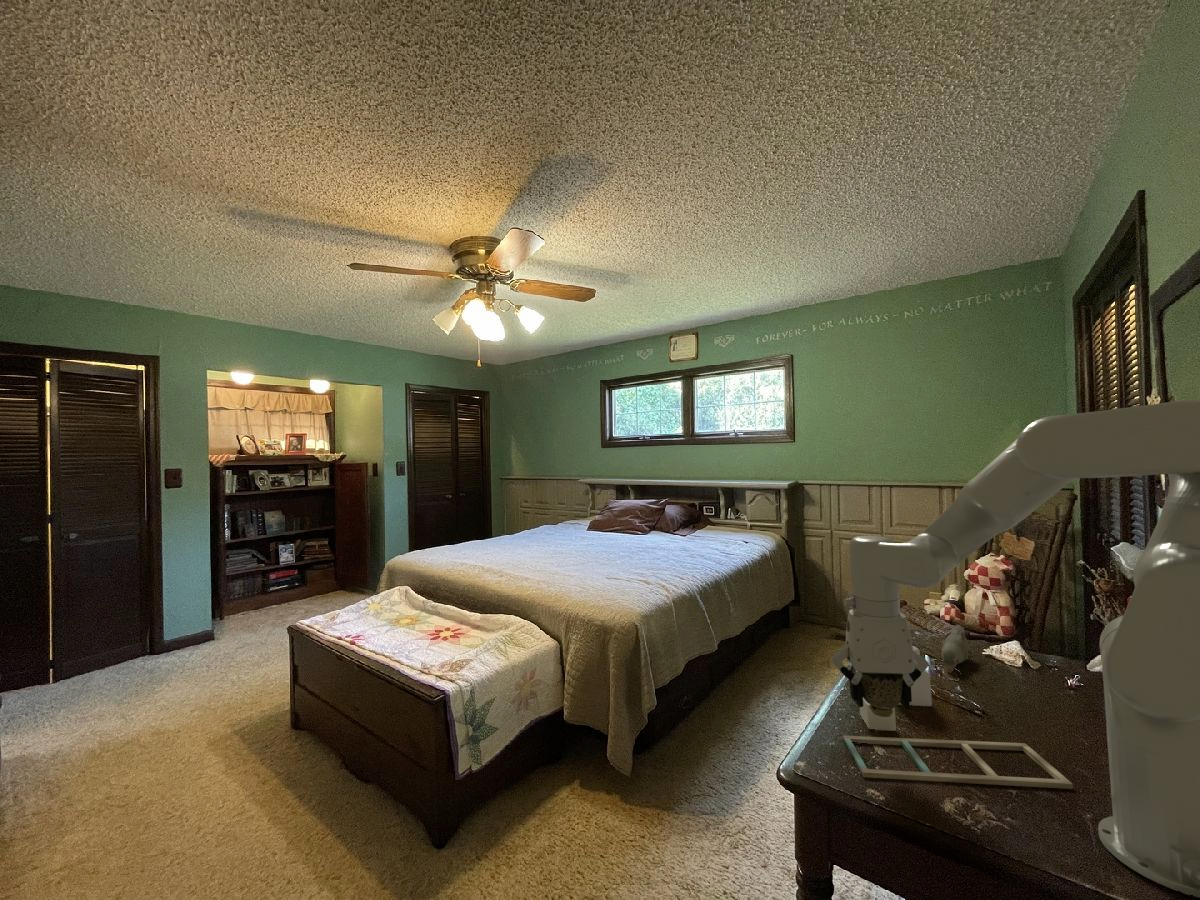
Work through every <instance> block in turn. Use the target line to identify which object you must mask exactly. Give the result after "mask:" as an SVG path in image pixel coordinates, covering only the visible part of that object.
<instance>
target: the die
mask: <svg viewBox="0 0 1200 900" xmlns="http://www.w3.org/2000/svg"><path fill="white" fill-rule="evenodd" d="M869 706H870V704H869V703H867V702H866V701H865V699H864V698H863V706H862V707H859V716H860V715H861V717H862V718H861V717H860V718H861V720H862V719H863V720H864V722H865V723H866V725H867V726H866V725H865V726H866V728H867V727H868V728H869V729H875V730H874V731H888V732H889V731H890V732H891V731H892V732H893V731H894V732H895V731H897V723H896V722H897V720H896V707H895V708H892V709H893V714H892V715H891V716H890V717H880V716H877V715H875V714H873V713H872V712H871V710H870V707H869ZM863 720H862V721H863ZM864 722H863V723H864ZM865 723H864V724H865ZM868 728H867V729H868ZM869 729H868V730H869Z"/></svg>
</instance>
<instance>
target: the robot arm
mask: <svg viewBox="0 0 1200 900" xmlns="http://www.w3.org/2000/svg"><path fill="white" fill-rule="evenodd" d="M1154 475H1155V476H1156V475H1167V477H1168V481H1169V482H1168V483H1169V487H1168V493H1167V497H1166V499H1165V501H1164V504H1163V506H1162V509H1161V512H1160V516H1159V518H1158V521H1157V523H1156V525H1155V527H1154V528H1153V532H1152V534H1151V536H1150V537H1149V540H1148V542H1147V544H1146V547H1145V548H1144V550H1143V552H1142V554H1141V555H1140V557H1139V558H1138V560H1137V562H1136V563H1135V566H1134V568H1133V572H1132V581H1133V584H1134V589H1133V592H1132V594H1131V597H1130V599H1129V600H1128V604H1127V606H1126V608H1125V610H1124V611H1125V612H1124V613H1123V615H1121V616H1118V617H1116V618H1114V619H1112V620H1111V621H1109V622H1108V623H1107V624H1106V626H1104V628H1103V629H1102V632H1101V634H1100V637H1099V652H1100V661H1101V668H1102V669H1101V670H1102V672H1101V673H1102V681H1103V695H1104V708H1105V721H1106V738H1107V739H1106V741H1107V750H1108V751H1107V754H1108V767H1109V778H1110V781H1109V782H1110V793H1111V806H1112V816H1108V817H1105V818H1102V820H1100V821H1099V823H1098V826H1097V827H1098V828H1097V831H1098V836H1099V840H1100V841H1101V843H1102V844H1103V846H1104V848H1106V850H1107V851H1108V852H1109V853H1110V854H1111V855H1113V857H1115V858H1116V859H1117V860H1119V861H1120V862H1121V863H1123V864H1124V865H1126V866H1127V867H1128V868H1130V869H1131V870H1133V871H1134V872H1136V873H1137V874H1140V875H1141V876H1143V877H1144V878H1147V879H1149V880H1151V881H1152V882H1155V883H1156V884H1158V885H1161V886H1163V887H1166V888H1168V889H1171V890H1173V891H1176V892H1178V891H1180V892H1179V893H1181V892H1182V894H1184V895H1187V896H1190V895H1193V896H1192V897H1194V896H1195V898H1199V899H1200V399H1186V400H1185V399H1183V400H1176V401H1168V402H1161V403H1160V402H1159V403H1153V404H1152V403H1151V404H1147V405H1146V404H1145V405H1139V406H1137V405H1136V406H1131V407H1130V406H1129V407H1122V408H1113V409H1107V410H1105V409H1104V410H1098V411H1097V410H1096V411H1090V412H1089V411H1087V412H1078V413H1077V412H1076V413H1069V414H1068V413H1067V414H1055V415H1054V414H1053V415H1049V416H1044V417H1041V418H1038V419H1036V420H1034V421H1033V422H1031V423H1029V424H1028V425H1027V426H1025V428H1023V430H1021V432H1020V434H1019V435H1018V437H1017V438H1016V439H1015V440H1014V441H1013V442H1011V443H1010V445H1008V446H1007V447H1006V448H1005V449H1004V451H1002V452H1001V453H1000V454H999V455H998V456H996V457H995V458H994V459H993V460H992V461H990V463H989V464H988V465H986V466H985V467H984V468H983V469H981V471H979V472H978V473H977V474H976V475H975V476H974V477H973V478H971V479H970V480H969V481H968V482H967V483H966V484H965V485H964V486H963V487H962V488H961V490H960V491H959V493H958V495H957V497H956V498H955V499H954V501H953V502H952V503H951V505H949V507H948V508H946V509H945V511H943V513H941V514H940V515H939V516H938V517H937V518H936V519H934V521H932V522H931V523H930V524H929V525H928V526H927V527H926V528H925V529H923V530H922V531H921V532H920V533H919V534H918V535H916V536H915V537H913V538H912V539H910V540H909V541H906V542H898V543H897V542H895V541H894V540H892V539H891V538H889V537H886V536H881V535H858V536H855V537H853V538H852V539H851V540H849V546H848V548H849V567H850V582H851V584H850V587H851V588H850V589H851V593H850V596H849V597H847V598H844V599H843V605H844V607H849V608H851V609H849V610H848V615H847V621H846V630H845V645H844V646H842V648H840V649H839V650H838V651H837V652H835V654H833V655H832V656H830V662H831V663H832V664H833V665H834V666H835V667H836V668H837V670H838V671H839V672H840V673H841V674H842V675H843V676H844V677H846V679H848V680H849V693H850V694H849V695H850V697H851V700H853V701H854V702H855V704H856V705H857V707H858V708H860V707H862V706H863V689H862V685H861V684H860V679H861V677H862V675H863V673H873V674H900V675H901V676H902V675H903V686H902V696H901V700H900V703H901V705H900V706H902V707H903V708H904V709H906V710H911V709H910V708H911V705H910V703H909V702H912V696H911V687H912V686H913V685H914V682H915V681H916V680H917V679H918V678H919V677H920V676H921V673H922V672H924V670H926V669H927V668H929V666H930V663H929V661H927V660H926V659H925V658H923V657H922V656H921V654H920V655H918V654H917V653H916V652H915V651H913V646H912V643H913V642H912V641H913V640H912V636H911V635H912V634H911V631H910V626H909V622H908V618H907V616H906V614H904V613H903V612H901V604H900V602H901V601H900V586H899V584H901V585H904V586H908V587H911V588H916V589H930V588H933V587H935V586H937V585H939V584H940V583H941V582H942V581H944V579H945V578H946V576H947V575H949V574H950V573H951V572H952V571H953V570H954V569H955V568H956V567H958V566H959V565H960V564H961V563H962V562H964V561H965V560H966V559H967V558H968V557H970V556H971V555H972V554H974V553H975V552H976V551H977V550H978V549H980V548H981V547H982V546H984V545H985V544H986V543H987V542H989V541H990V540H991V539H994V537H996V536H997V535H999V534H1002V533H1004V532H1006V531H1009V530H1011V529H1012V528H1014V527H1015V526H1017V525H1018V524H1020V523H1021V522H1022V521H1024V520H1025V519H1026V518H1028V517H1029V516H1030V515H1031V514H1032V513H1033V512H1035V511H1036V510H1037V509H1038V508H1039V507H1041V506H1043V504H1044V503H1046V502H1047V501H1049V499H1051V498H1052V497H1053V496H1055V495H1056V494H1058V492H1059V491H1061V490H1062V489H1064V488H1065V487H1066V486H1067V485H1069V484H1070V483H1071V482H1073V481H1074V480H1075V479H1096V478H1097V479H1099V478H1100V479H1101V478H1118V477H1119V478H1120V477H1137V476H1154ZM846 659H847V662H849V663H850V667H849V668H848V667H847V666H846V665H845V664H844V663H843V662H844V660H846ZM914 660H915V663H914Z"/></svg>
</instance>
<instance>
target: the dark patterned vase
mask: <svg viewBox="0 0 1200 900" xmlns="http://www.w3.org/2000/svg"><path fill="white" fill-rule="evenodd" d="M860 684H861V685H862V689H863V698H864V699H865V701H866V702H867V703H869V704H870V706H869V707H870V710H871V712H872V713H873V714H875V715H877V716H880V717H890V716H891V715H892V714H893V709H892V708H895V709H896V708H897V706H899V705H898V704H899V703H900V700H901V696H902V686H903V675H902V676H901V675H900V674H873V673H863V675H862V677H861V679H860Z"/></svg>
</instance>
